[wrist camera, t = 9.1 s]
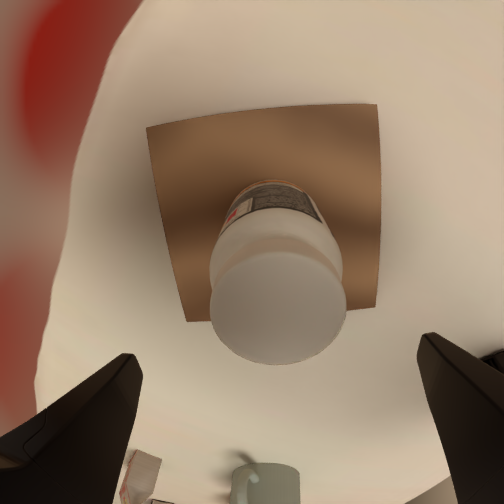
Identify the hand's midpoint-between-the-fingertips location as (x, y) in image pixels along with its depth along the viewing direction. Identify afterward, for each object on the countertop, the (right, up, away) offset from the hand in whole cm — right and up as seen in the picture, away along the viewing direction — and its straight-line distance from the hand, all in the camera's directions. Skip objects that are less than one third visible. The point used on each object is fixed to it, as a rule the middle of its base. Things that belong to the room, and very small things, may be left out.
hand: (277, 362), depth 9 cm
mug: (0, -26, +26) cm, 36 cm away
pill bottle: (+1, +5, +11) cm, 12 cm away
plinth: (+1, +6, +12) cm, 13 cm away
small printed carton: (-16, -27, +27) cm, 42 cm away
